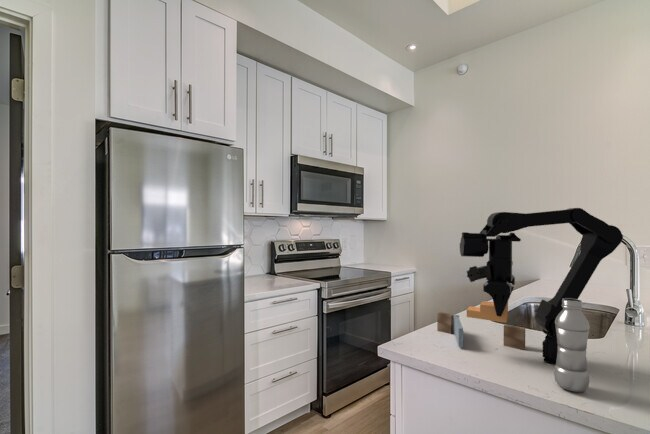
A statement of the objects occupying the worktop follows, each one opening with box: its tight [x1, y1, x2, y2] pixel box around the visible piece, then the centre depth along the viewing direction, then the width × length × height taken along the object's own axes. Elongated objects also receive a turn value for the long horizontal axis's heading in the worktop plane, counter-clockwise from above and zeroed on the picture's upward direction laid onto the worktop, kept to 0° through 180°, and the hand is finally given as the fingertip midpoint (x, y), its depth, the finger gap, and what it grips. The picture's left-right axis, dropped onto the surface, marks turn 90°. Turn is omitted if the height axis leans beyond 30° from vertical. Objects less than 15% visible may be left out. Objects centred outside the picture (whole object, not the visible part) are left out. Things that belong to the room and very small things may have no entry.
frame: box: [436, 311, 526, 351], centre depth 110 cm, size 26×2×6 cm, turn 49°
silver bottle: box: [553, 298, 591, 393], centre depth 78 cm, size 6×7×20 cm
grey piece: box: [452, 314, 464, 348], centre depth 108 cm, size 15×2×6 cm, turn 164°
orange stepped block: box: [466, 300, 509, 324], centre depth 97 cm, size 10×5×6 cm, turn 58°
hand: (500, 313), depth 95 cm, fingers closed on orange stepped block, 5 cm apart
